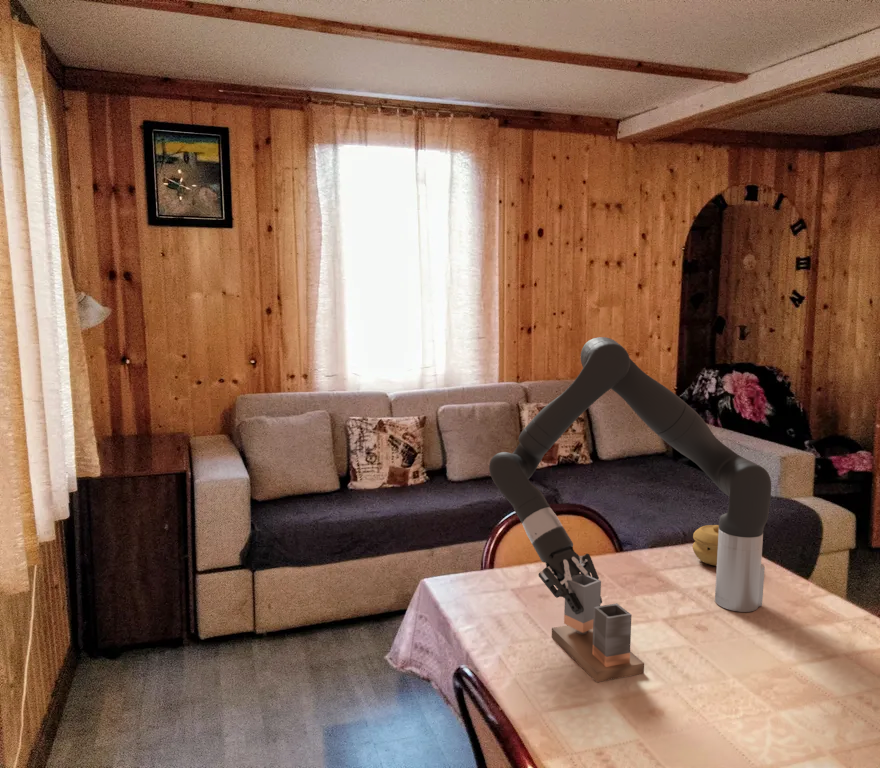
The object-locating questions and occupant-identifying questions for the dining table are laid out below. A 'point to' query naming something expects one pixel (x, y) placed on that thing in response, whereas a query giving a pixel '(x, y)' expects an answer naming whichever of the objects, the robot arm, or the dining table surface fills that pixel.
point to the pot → (706, 544)
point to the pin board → (602, 644)
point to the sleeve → (583, 602)
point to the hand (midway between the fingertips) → (589, 608)
